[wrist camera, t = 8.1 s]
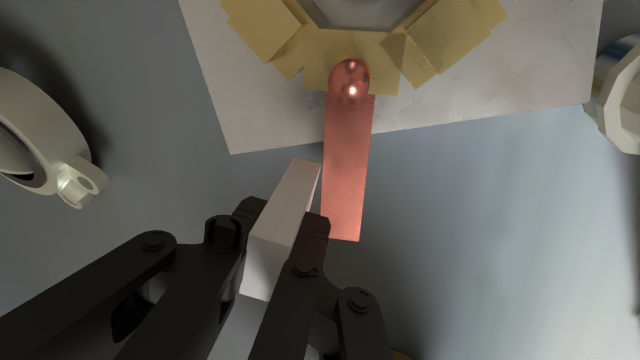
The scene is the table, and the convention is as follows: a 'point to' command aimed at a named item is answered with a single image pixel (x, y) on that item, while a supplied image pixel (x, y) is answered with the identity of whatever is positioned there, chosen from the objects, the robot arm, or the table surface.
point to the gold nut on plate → (410, 105)
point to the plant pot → (400, 356)
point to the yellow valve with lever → (358, 73)
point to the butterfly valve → (44, 144)
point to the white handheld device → (618, 94)
